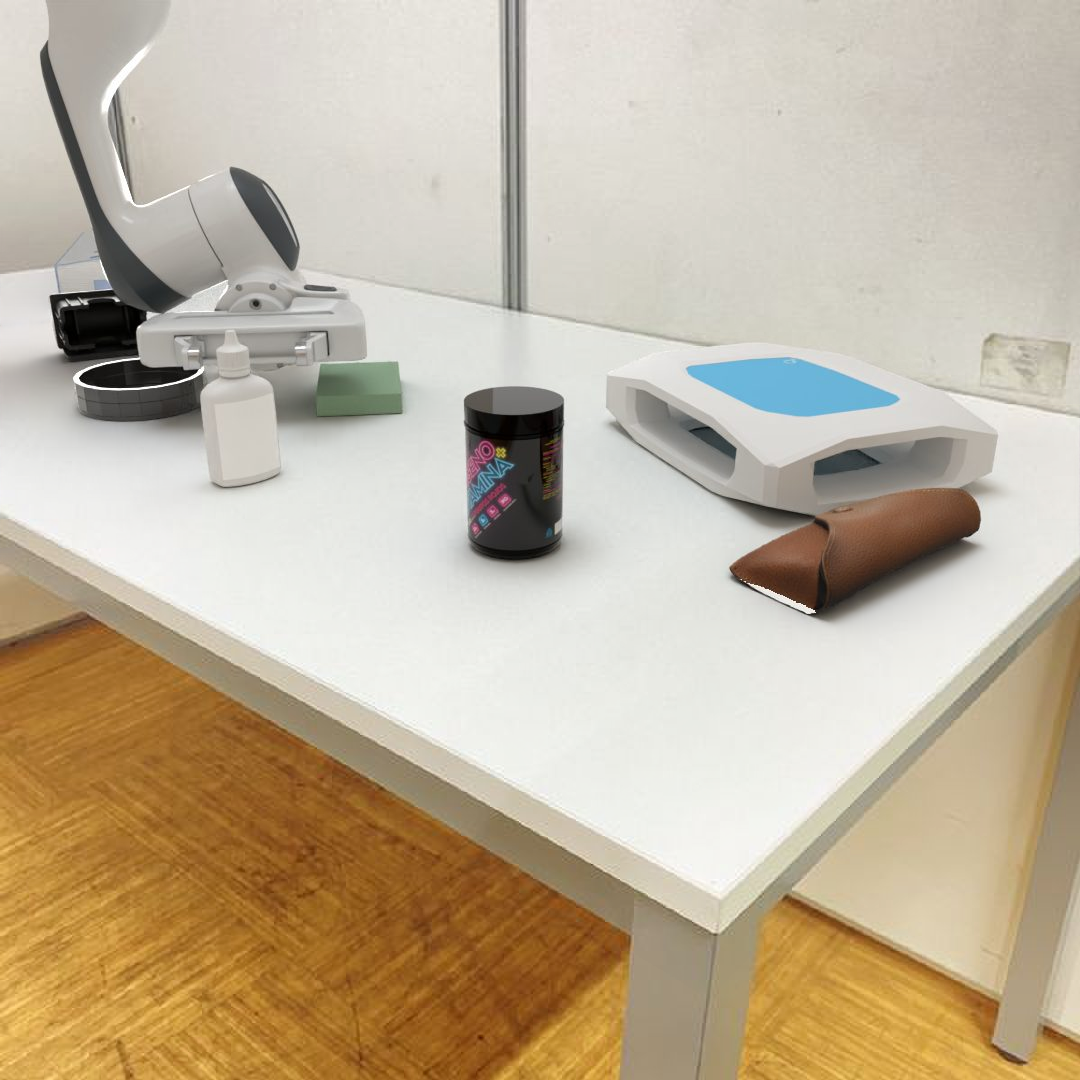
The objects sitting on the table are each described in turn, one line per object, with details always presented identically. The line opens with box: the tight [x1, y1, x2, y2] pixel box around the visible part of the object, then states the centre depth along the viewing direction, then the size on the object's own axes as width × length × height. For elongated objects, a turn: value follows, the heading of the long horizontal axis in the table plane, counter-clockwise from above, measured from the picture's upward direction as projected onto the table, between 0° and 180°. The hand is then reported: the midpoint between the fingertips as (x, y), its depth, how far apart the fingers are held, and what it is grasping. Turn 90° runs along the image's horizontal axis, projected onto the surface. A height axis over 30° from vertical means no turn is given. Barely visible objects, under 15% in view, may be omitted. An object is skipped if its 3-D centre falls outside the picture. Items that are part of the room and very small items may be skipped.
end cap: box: [48, 289, 148, 362], centre depth 128 cm, size 10×7×7 cm
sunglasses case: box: [728, 488, 982, 614], centre depth 76 cm, size 18×7×7 cm
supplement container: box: [463, 385, 565, 560], centre depth 77 cm, size 7×7×10 cm
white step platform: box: [605, 341, 999, 517], centre depth 96 cm, size 21×28×6 cm
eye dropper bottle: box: [200, 330, 282, 488], centre depth 89 cm, size 4×6×12 cm
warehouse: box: [53, 230, 112, 294], centre depth 164 cm, size 30×14×8 cm, turn 14°
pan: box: [72, 357, 208, 422], centre depth 110 cm, size 12×12×3 cm
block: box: [315, 361, 403, 417], centre depth 112 cm, size 8×12×2 cm, turn 8°
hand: (247, 358), depth 97 cm, fingers open, 8 cm apart
